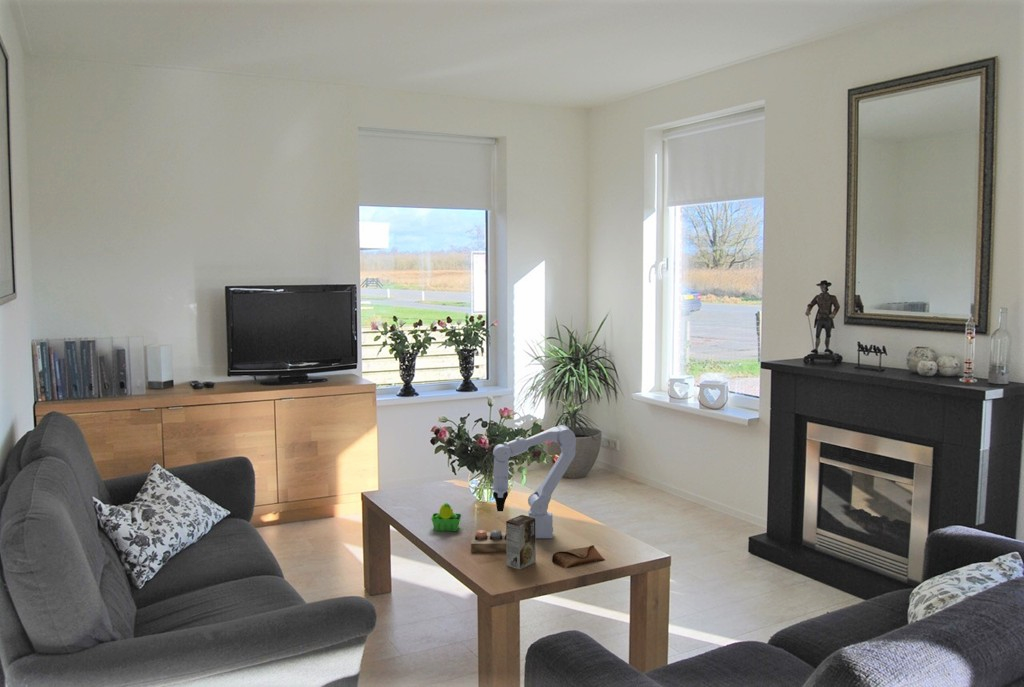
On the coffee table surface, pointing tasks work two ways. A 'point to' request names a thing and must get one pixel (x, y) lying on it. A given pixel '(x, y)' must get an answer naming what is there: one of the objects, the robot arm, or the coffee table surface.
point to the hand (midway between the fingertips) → (500, 510)
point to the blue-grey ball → (495, 534)
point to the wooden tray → (488, 543)
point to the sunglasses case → (577, 557)
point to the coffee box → (520, 542)
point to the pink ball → (481, 534)
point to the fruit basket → (446, 519)
